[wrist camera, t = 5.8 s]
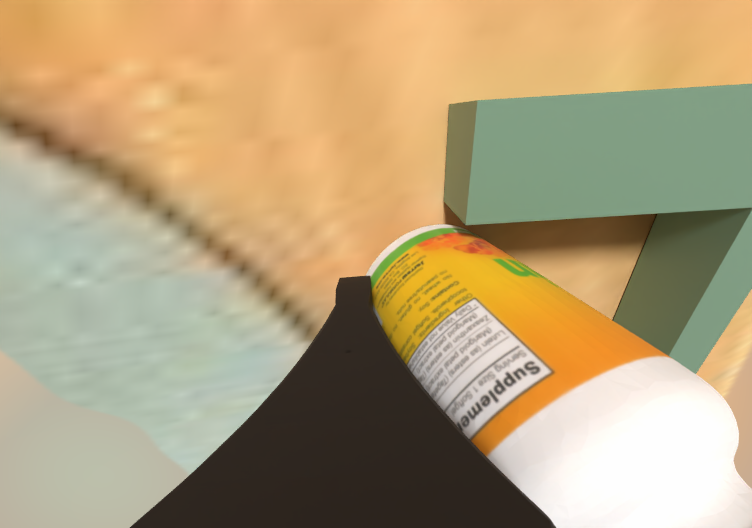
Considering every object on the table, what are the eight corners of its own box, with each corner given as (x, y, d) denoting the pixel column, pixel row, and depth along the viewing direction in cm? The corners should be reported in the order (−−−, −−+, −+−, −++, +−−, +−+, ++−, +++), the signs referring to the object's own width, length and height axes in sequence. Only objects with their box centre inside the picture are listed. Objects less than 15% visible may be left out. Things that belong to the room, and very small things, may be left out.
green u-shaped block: (609, 393, 15) (651, 441, 13) (432, 405, 15) (443, 454, 13) (757, 85, 9) (891, 75, 7) (449, 104, 9) (477, 100, 6)
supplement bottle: (506, 266, 12) (996, 602, 4) (421, 355, 13) (672, 767, 5) (427, 188, 9) (1674, 860, 1) (325, 310, 10) (557, 1131, 2)
